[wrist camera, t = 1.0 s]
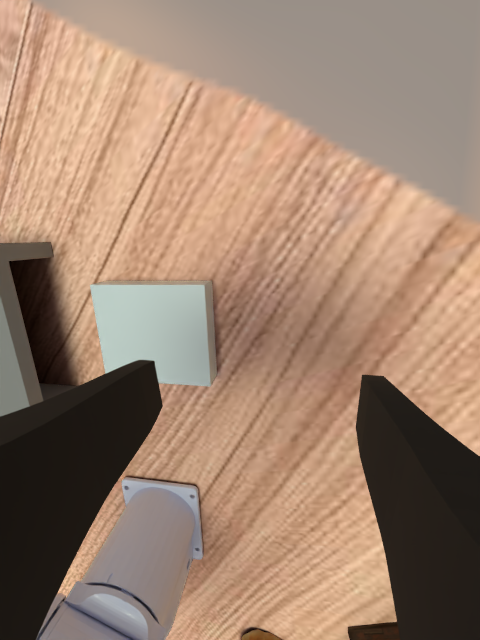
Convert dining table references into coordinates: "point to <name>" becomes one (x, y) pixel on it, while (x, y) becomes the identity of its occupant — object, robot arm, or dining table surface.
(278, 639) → the pastry
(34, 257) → the overhang shelf
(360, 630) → the coffee grinder
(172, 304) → the pale blue thin plate
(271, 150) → the dining table surface
